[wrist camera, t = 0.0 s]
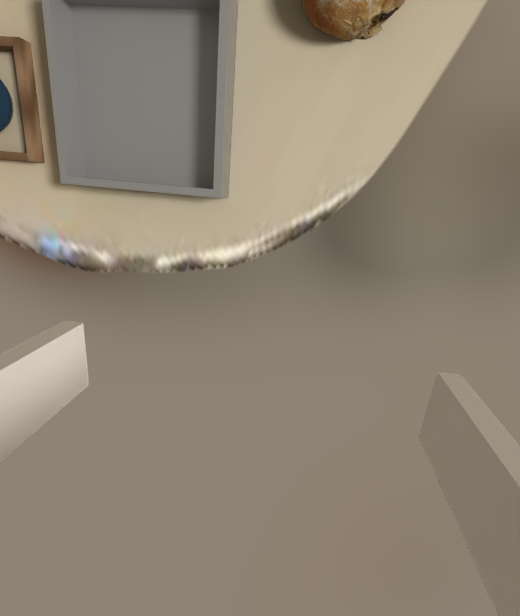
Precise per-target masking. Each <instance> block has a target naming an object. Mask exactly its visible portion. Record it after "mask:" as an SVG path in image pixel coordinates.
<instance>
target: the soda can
mask: <svg viewBox="0 0 520 616" xmlns="http://www.w3.org/2000/svg"><path fill="white" fill-rule="evenodd" d="M12 116H13V102H12V98H11V95H10V93H9V91H8V89H7V88H6V86H5V85H4V84H3V82H2V81H1V80H0V131H1V130H3V129H4V128H5V127H7V126H8V124H9V123H10V121H11V119H12Z"/></svg>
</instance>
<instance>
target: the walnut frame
mask: <svg viewBox="0 0 520 616" xmlns="http://www.w3.org/2000/svg"><path fill="white" fill-rule="evenodd" d="M0 51H14V58H15V66H16V74H17V81H18V89H19V96H20V104H21V111H22V119H23V126H24V134H25V141H26V149H27V153H17V152H5V151H0V159H7V160H18V161H30V162H41V163H44V155H43V146H42V138H41V129H40V121H39V112H38V104H37V95H36V87H35V78H34V70H33V62H32V53H31V45H30V43H29V42H27V41H25V40H23V39H21V38H20V37H4V36H0Z"/></svg>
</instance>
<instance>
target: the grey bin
mask: <svg viewBox="0 0 520 616" xmlns="http://www.w3.org/2000/svg"><path fill="white" fill-rule="evenodd" d="M41 2H42V11H43V21H44V30H45V40H46V49H47V59H48V68H49V78H50V87H51V97H52V106H53V116H54V125H55V135H56V144H57V153H58V163H59V172H60V182H61V184H72V185H82V186H93V187H104V188H115V189H126V190H137V191H148V192H158V193H169V194H180V195H191V196H202V197H213V198H228V195H229V175H230V154H231V134H232V114H233V94H234V74H235V53H236V33H237V13H238V1H237V0H41Z"/></svg>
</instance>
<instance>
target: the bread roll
mask: <svg viewBox="0 0 520 616" xmlns="http://www.w3.org/2000/svg"><path fill="white" fill-rule="evenodd" d="M404 2H405V0H302V3H303V4H302V8H303V9H304V11H305V13H306V15H307V17H308V18H309V20H310V22H311V23H312V24H313V26H314V27H317V28H318V29H319V30H321V31H323V32H324V33H325V34H330V35H332V36H334V37H336V38H339V39H343V40H351V39H355V38H361V37H362V36H363V37H364V38H365V39H368V38H370V37H372V36H375V35H377V34H378V33H379V32H380V31H381V30H382V27H381V26H380V25H381V24H382V23H384V22H385V21H386V20H387V19H388V18H389V17H390V16H391V15H392V14H393V13H394V12H395V11H396V10H398V9H399V8H400V6H401V5H402V4H403V3H404Z"/></svg>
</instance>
